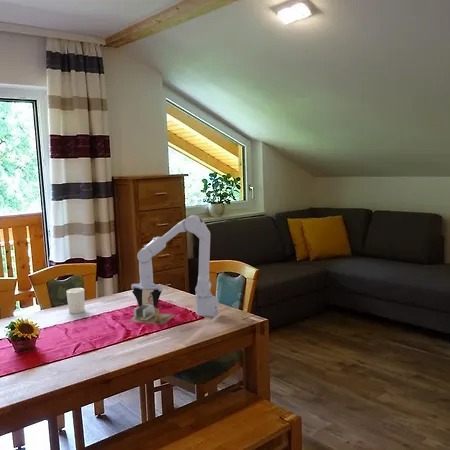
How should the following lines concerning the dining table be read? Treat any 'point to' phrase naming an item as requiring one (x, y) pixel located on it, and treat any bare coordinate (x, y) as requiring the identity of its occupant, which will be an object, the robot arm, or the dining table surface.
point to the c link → (144, 311)
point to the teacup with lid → (147, 296)
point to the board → (154, 318)
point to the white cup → (76, 300)
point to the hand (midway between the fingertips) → (148, 305)
